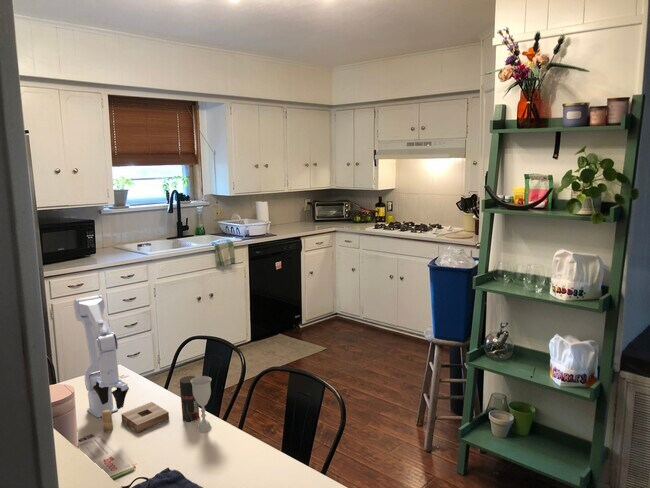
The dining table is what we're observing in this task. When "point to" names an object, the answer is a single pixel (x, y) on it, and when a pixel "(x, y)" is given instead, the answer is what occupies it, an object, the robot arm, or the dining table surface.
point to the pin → (107, 420)
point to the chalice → (202, 398)
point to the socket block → (145, 417)
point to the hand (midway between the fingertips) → (112, 405)
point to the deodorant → (188, 400)
